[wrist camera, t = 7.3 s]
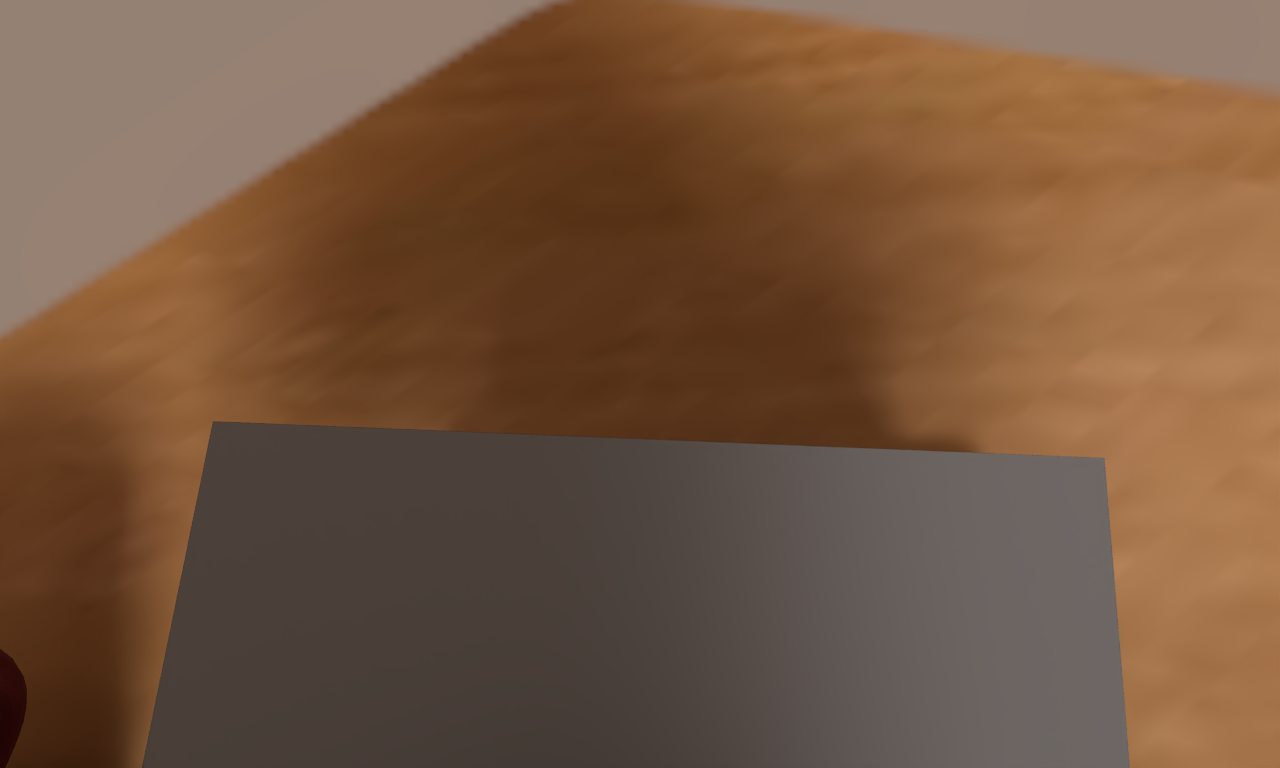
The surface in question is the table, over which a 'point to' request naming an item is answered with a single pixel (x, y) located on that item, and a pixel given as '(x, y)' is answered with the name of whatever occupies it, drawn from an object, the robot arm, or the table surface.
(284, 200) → the table surface
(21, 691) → the mug
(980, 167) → the table surface
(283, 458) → the gray block
